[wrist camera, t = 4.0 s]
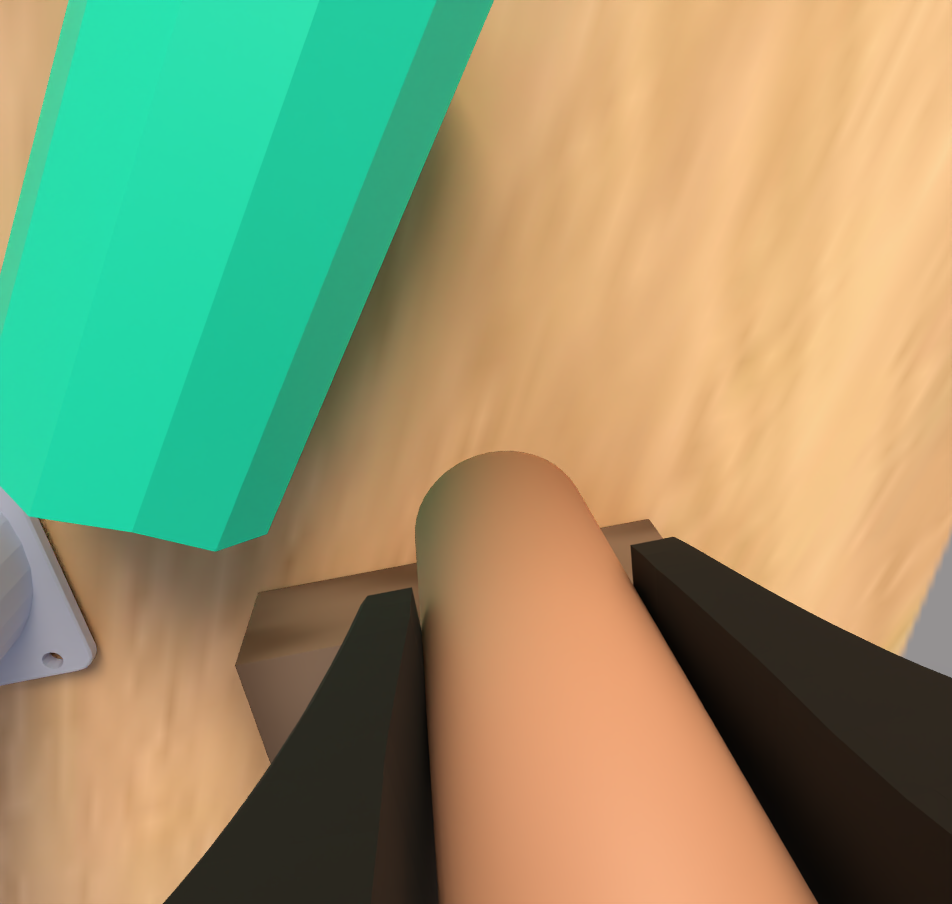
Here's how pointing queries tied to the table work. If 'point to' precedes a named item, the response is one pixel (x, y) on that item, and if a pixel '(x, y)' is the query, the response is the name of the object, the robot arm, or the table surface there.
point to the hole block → (333, 634)
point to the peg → (568, 715)
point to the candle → (206, 246)
